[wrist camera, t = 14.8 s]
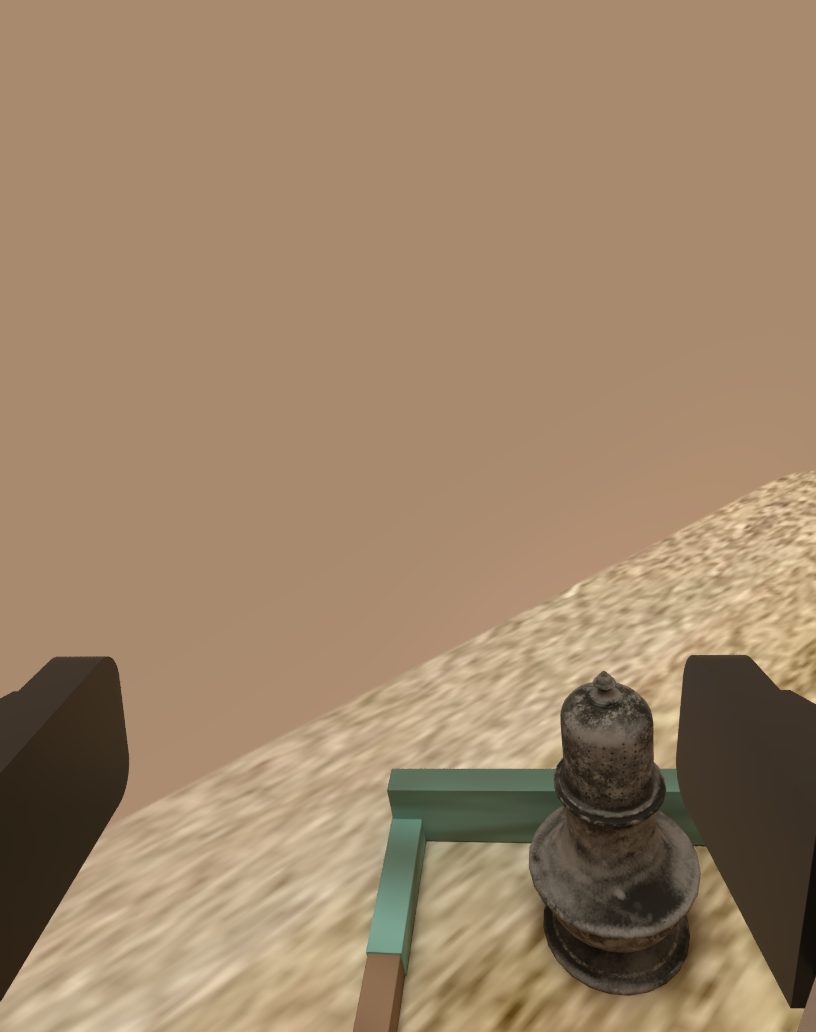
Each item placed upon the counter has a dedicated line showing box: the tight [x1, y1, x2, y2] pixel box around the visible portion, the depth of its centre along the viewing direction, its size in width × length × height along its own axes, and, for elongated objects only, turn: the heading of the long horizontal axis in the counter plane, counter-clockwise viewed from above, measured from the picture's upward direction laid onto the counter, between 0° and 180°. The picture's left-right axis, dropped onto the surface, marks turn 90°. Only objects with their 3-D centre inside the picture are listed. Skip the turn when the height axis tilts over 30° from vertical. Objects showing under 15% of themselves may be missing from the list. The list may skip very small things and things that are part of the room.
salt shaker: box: [529, 671, 701, 995], centre depth 27 cm, size 6×6×12 cm
